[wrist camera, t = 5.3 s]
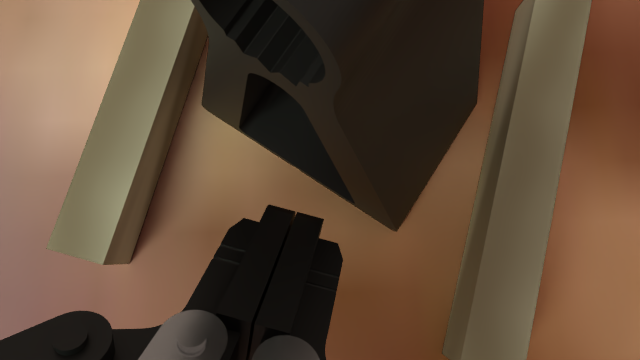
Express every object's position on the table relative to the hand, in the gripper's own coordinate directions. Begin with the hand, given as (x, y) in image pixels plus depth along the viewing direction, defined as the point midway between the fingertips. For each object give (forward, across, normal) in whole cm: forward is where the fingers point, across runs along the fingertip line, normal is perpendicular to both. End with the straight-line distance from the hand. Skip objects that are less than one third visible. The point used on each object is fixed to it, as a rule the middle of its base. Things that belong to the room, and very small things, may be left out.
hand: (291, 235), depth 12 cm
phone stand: (+8, 0, 0) cm, 8 cm away
